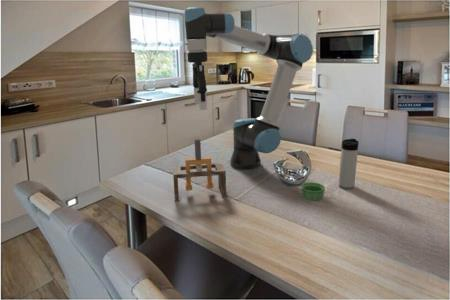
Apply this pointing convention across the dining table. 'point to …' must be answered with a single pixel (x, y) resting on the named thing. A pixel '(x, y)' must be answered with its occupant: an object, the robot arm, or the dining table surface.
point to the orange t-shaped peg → (198, 161)
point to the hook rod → (199, 167)
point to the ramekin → (312, 191)
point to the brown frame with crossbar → (219, 171)
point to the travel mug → (348, 163)
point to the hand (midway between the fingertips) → (200, 106)
